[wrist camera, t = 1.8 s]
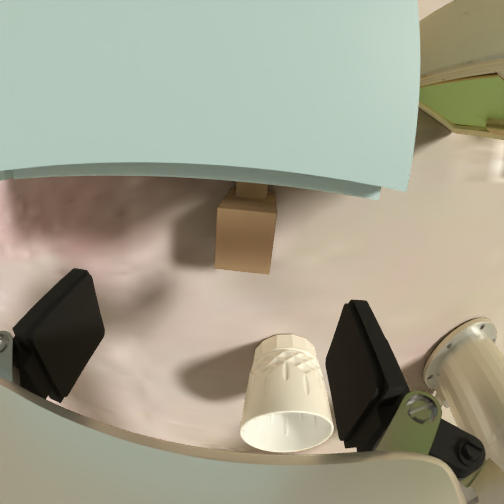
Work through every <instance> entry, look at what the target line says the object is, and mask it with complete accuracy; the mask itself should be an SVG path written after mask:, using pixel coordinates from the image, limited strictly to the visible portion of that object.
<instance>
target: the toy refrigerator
mask: <svg viewBox="0 0 504 504" xmlns="http://www.w3.org/2000/svg"><path fill="white" fill-rule="evenodd" d="M419 28H420V90H419V106H418V107H419V108H420V109H422V110H423V111H425V112H426V113H428V114H429V115H430V116H432V117H433V118H435V119H436V120H437V121H439V122H440V123H442V124H443V125H444V126H445V127H447V128H448V129H449V130H451V131H452V132H454V133H457V134H465V135H474V136H482V137H489V138H495V139H501V140H504V0H454V1H452V2H450V3H448V4H447V5H445V6H443V7H442V8H440V9H438V10H437V11H435V12H433V13H432V14H430V15H429V16H427V17H426V18H424V19H422V20H421V21H419Z"/></svg>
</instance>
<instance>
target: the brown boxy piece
mask: <svg viewBox="0 0 504 504" xmlns="http://www.w3.org/2000/svg"><path fill="white" fill-rule="evenodd" d="M267 190H268V184H261V183H251V182H240V181H236V189H230V191H229V192H228V193H227V195H226V196H225V198H224V199H223V201H222V202H221V203H220V205H219V206H218V208H217V225H216V247H215V269H224V270H233V271H242V272H251V273H260V274H269V272H270V264H271V257H272V249H273V241H274V233H275V225H276V217H277V209H276V197H275V193H270V192H267Z"/></svg>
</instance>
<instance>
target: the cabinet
mask: <svg viewBox="0 0 504 504" xmlns="http://www.w3.org/2000/svg"><path fill="white" fill-rule="evenodd" d="M419 90H420V28H419V14H418V3H417V0H0V180H6V179H9V178H12V177H13V179H24V178H39V177H58V176H100V175H119V176H162V177H184V178H201V179H216V180H228V181H240V182H251V183H261V184H270V185H279V186H287V187H295V188H303V189H311V190H318V191H325V192H332V193H338V194H344V195H351V196H357V197H362V198H368V199H374V200H379V196H380V190H381V187H385V188H389V189H394V190H399V191H403V192H407V187H408V182H409V176H410V170H411V164H412V158H413V151H414V144H415V136H416V127H417V118H418V106H419Z"/></svg>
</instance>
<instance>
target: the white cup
mask: <svg viewBox="0 0 504 504" xmlns="http://www.w3.org/2000/svg"><path fill="white" fill-rule="evenodd" d="M333 430H334V426H333V421H332V416H331V411H330V407H329V402H328V397H327V392H326V387H325V384H324V379H323V376H322V372H321V368H320V366H319V364H318V360H317V356H316V352H315V348H314V346H313V345H312V344H311V343H310V342H309V341H308V340H307V339H306V338H303V337H300V336H297V335H293V334H283V335H275V336H273V337H270V338H268V339H265V340H264V341H263V342H262V343H261V344H260V345H259V346H258V347H257V348H256V349H255V353H254V358H253V364H252V369H251V371H250V375H249V380H248V386H247V391H246V395H245V402H244V408H243V414H242V420H241V426H240V436H241V438H242V439H243V441H244V442H246V443H247V444H249V445H250V446H252V447H255V448H257V449H260V450H264V451H270V452H296V451H301V450H306V449H309V448H312V447H315V446H317V445H319V444H321V443H323V442H324V441H326V440H327V439H328V438H329V437H330V436H331V435H332V433H333Z"/></svg>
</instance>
